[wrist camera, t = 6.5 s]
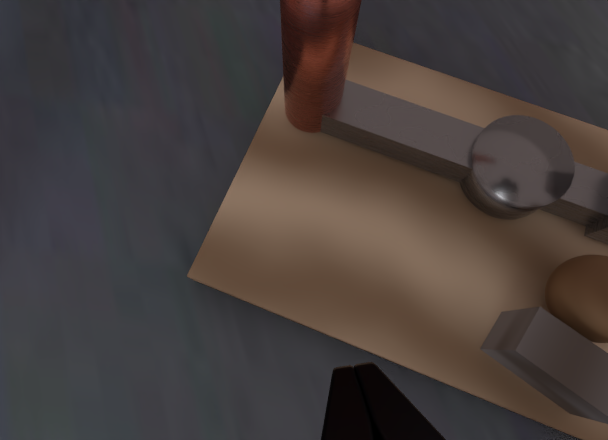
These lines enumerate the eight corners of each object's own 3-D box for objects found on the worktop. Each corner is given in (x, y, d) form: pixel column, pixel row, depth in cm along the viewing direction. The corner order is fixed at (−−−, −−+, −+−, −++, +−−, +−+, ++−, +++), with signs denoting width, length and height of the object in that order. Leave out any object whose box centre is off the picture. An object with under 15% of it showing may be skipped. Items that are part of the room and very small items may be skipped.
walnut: (599, 355, 18) (671, 359, 14) (520, 324, 18) (572, 320, 15) (612, 280, 19) (683, 266, 15) (537, 251, 19) (590, 232, 16)
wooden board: (601, 448, 18) (690, 479, 14) (193, 279, 20) (166, 264, 16) (648, 160, 22) (728, 120, 18) (306, 42, 24) (309, -19, 20)
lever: (645, 185, 20) (1074, -4, 9) (632, 268, 19) (1109, 167, 8) (302, 65, 21) (310, -222, 10) (270, 134, 20) (241, -108, 9)
